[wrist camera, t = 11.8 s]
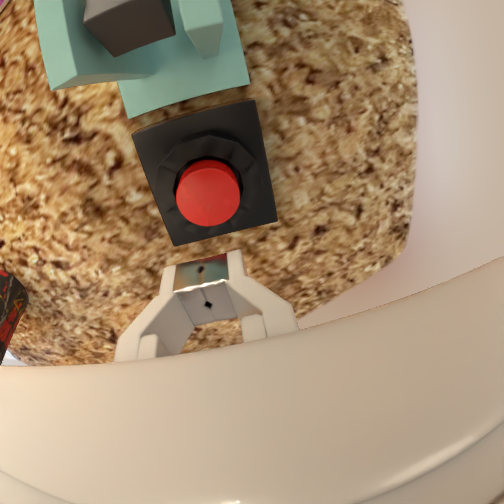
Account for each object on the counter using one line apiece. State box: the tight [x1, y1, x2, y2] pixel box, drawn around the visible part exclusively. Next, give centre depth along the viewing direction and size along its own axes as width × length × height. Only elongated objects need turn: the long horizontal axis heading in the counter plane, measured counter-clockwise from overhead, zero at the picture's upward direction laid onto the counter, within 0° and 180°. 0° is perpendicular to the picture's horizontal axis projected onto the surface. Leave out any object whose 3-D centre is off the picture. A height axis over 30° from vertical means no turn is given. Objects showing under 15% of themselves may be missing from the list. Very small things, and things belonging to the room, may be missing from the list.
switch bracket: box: [34, 0, 250, 119], centre depth 8 cm, size 9×8×12 cm
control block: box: [132, 98, 278, 246], centre depth 18 cm, size 9×8×4 cm
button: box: [176, 160, 240, 226], centre depth 16 cm, size 4×4×2 cm
